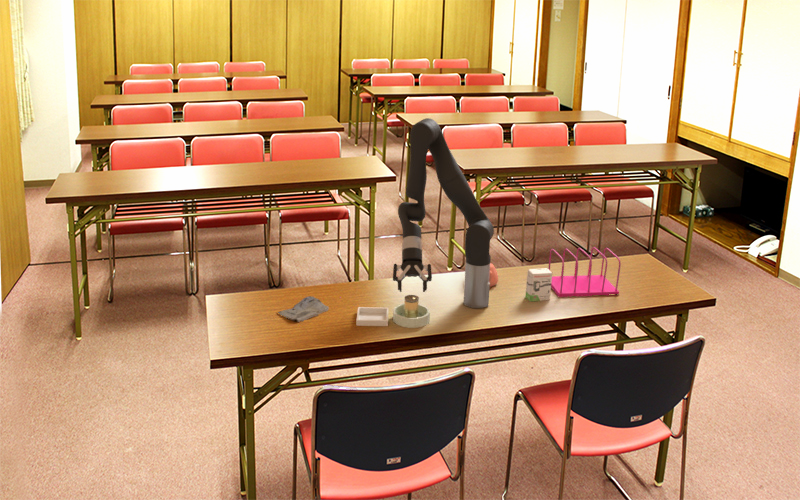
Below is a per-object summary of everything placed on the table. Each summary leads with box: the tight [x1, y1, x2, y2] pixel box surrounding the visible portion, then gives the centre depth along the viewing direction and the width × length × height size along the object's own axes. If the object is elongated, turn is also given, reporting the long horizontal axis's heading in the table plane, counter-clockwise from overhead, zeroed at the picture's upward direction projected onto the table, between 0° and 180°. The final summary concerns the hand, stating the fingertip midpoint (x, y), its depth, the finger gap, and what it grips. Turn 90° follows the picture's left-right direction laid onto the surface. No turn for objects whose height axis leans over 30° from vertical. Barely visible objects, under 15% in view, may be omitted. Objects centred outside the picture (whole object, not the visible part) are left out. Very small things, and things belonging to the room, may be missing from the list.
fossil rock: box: [277, 296, 330, 323], centre depth 265 cm, size 18×15×2 cm
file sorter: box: [548, 246, 621, 298], centre depth 289 cm, size 17×25×16 cm
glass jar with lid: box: [404, 294, 420, 318], centre depth 257 cm, size 5×5×8 cm
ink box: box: [524, 267, 553, 302], centre depth 278 cm, size 9×5×12 cm, turn 102°
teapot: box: [489, 262, 499, 288], centre depth 293 cm, size 12×18×10 cm
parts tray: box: [355, 306, 389, 327], centre depth 259 cm, size 11×11×2 cm
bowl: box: [392, 303, 431, 329], centre depth 258 cm, size 13×13×4 cm
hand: (412, 291), depth 259 cm, fingers open, 8 cm apart
